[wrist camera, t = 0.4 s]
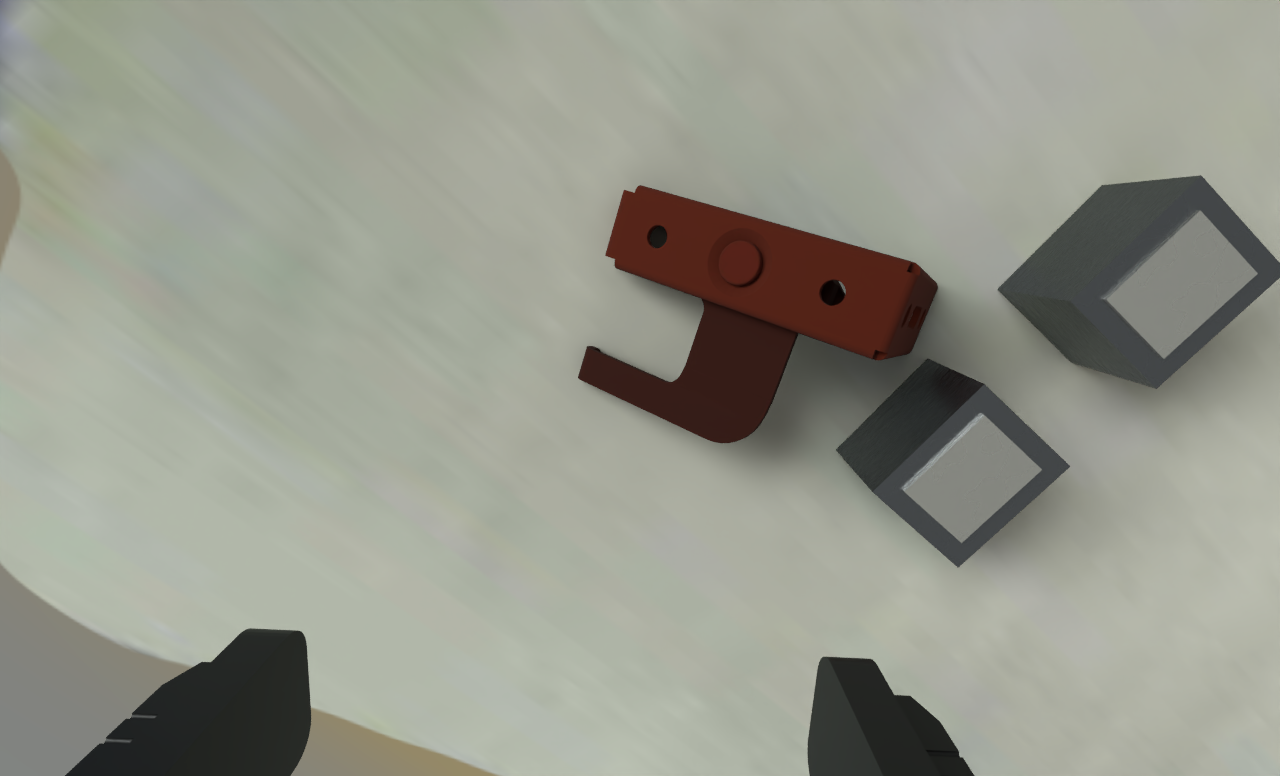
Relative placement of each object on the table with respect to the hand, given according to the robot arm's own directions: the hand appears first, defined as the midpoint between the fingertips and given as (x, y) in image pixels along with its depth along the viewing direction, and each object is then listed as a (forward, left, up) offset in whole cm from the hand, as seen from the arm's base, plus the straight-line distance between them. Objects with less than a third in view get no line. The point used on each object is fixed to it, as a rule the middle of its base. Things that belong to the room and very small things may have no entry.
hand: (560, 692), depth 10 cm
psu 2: (-20, +15, -26) cm, 36 cm away
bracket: (-6, +4, -27) cm, 27 cm away
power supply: (-8, +15, -26) cm, 31 cm away
